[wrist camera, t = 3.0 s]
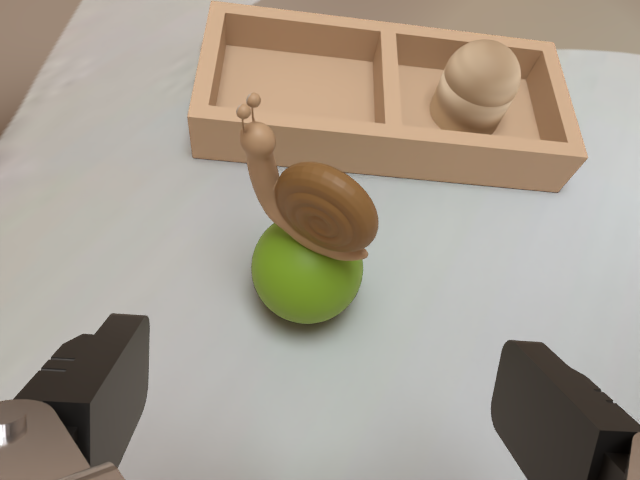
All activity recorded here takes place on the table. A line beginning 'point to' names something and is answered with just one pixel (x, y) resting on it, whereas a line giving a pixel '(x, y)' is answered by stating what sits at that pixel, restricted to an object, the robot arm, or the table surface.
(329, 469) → the table surface
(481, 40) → the beige domed knob
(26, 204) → the table surface
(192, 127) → the divided tray
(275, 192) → the snail figurine
